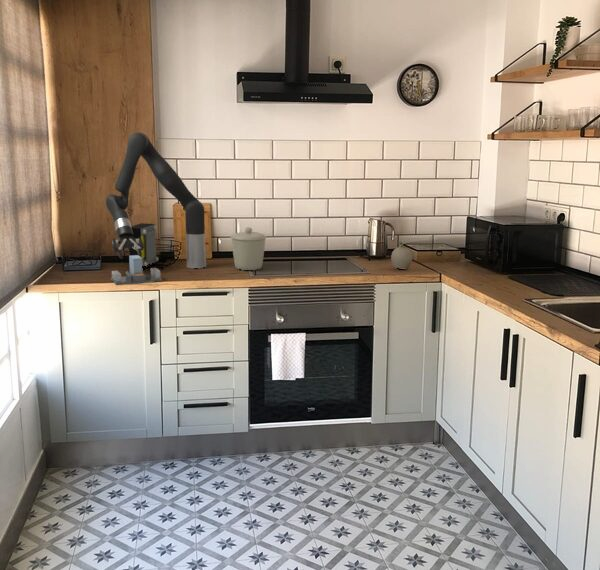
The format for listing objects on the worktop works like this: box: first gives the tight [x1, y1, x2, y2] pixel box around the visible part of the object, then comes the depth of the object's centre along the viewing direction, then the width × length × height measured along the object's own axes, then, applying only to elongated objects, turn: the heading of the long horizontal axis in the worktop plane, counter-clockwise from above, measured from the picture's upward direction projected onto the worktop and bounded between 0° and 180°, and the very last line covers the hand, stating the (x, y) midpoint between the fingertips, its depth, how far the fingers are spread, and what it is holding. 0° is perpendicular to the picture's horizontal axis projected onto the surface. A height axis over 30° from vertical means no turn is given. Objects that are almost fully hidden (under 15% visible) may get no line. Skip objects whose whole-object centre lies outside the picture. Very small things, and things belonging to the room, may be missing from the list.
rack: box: [110, 267, 163, 286], centre depth 322 cm, size 12×21×4 cm, turn 116°
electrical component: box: [129, 222, 159, 267], centre depth 356 cm, size 18×10×20 cm, turn 168°
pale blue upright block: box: [128, 255, 144, 276], centre depth 321 cm, size 8×4×10 cm, turn 26°
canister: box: [229, 226, 268, 271], centre depth 350 cm, size 18×18×21 cm
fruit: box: [390, 241, 413, 269], centre depth 356 cm, size 10×12×15 cm
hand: (131, 257), depth 330 cm, fingers open, 8 cm apart
